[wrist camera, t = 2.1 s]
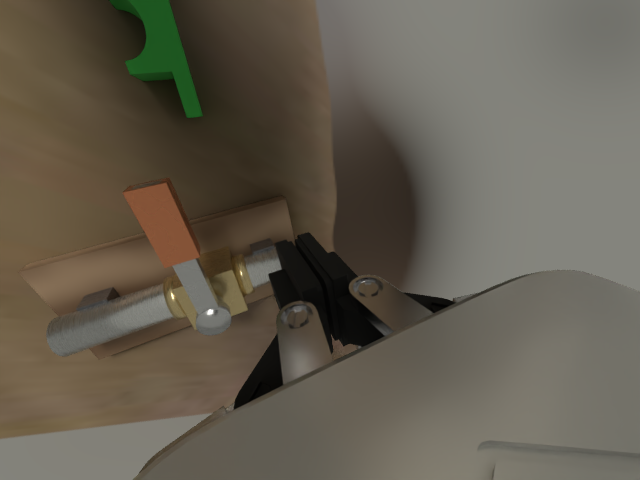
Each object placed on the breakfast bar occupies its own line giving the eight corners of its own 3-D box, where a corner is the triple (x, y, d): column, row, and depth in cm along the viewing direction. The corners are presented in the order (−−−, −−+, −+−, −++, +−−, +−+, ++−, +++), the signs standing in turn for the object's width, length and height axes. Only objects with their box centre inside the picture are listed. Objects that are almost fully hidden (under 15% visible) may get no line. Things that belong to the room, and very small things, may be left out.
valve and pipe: (58, 297, 23) (25, 338, 19) (283, 228, 29) (296, 248, 25) (91, 335, 26) (69, 378, 22) (292, 264, 32) (305, 288, 27)
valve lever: (232, 307, 25) (235, 328, 22) (203, 318, 24) (202, 341, 21) (174, 172, 18) (169, 182, 16) (130, 182, 17) (118, 193, 15)
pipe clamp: (89, -63, 17) (54, -117, 13) (152, -59, 18) (137, -107, 14) (158, 121, 22) (148, 122, 18) (203, 116, 23) (202, 116, 19)
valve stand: (28, 263, 23) (17, 272, 21) (282, 195, 29) (285, 199, 28) (103, 349, 28) (99, 359, 27) (300, 276, 35) (304, 282, 34)
